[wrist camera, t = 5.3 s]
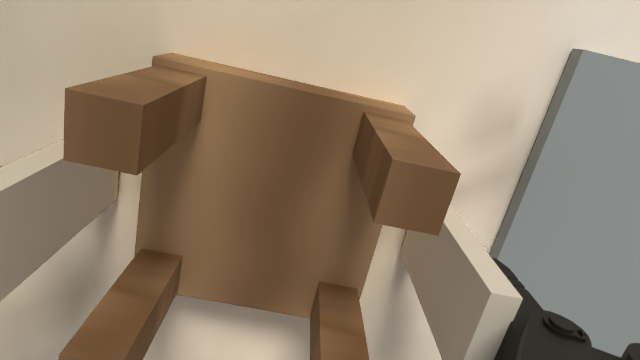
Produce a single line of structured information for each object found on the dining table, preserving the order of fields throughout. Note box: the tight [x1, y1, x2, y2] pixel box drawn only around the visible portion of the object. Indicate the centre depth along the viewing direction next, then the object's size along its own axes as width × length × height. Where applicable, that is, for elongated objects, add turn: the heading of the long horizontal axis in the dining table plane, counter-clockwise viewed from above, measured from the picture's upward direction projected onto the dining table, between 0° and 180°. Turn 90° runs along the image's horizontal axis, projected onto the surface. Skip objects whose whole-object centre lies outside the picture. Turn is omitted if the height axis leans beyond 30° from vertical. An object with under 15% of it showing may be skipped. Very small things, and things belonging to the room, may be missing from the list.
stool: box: [59, 53, 461, 360], centre depth 13 cm, size 8×8×7 cm
